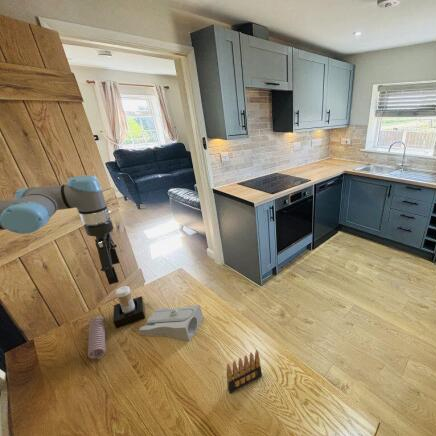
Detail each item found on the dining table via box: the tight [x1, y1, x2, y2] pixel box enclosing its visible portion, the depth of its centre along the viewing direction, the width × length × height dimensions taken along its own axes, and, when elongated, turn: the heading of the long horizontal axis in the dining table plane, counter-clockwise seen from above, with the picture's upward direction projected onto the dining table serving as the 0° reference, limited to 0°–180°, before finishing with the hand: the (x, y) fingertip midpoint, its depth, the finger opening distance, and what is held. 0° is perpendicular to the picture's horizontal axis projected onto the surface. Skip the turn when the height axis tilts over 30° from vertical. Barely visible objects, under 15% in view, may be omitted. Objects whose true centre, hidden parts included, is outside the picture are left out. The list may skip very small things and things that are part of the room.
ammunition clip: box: [226, 349, 263, 394], centre depth 72 cm, size 11×2×12 cm, turn 120°
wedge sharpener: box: [138, 304, 204, 342], centre depth 92 cm, size 11×20×7 cm, turn 83°
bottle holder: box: [112, 295, 146, 330], centre depth 97 cm, size 10×10×4 cm
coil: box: [87, 316, 107, 360], centre depth 86 cm, size 5×5×18 cm
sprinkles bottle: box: [115, 285, 137, 315], centre depth 96 cm, size 5×5×14 cm
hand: (114, 272), depth 89 cm, fingers open, 13 cm apart
